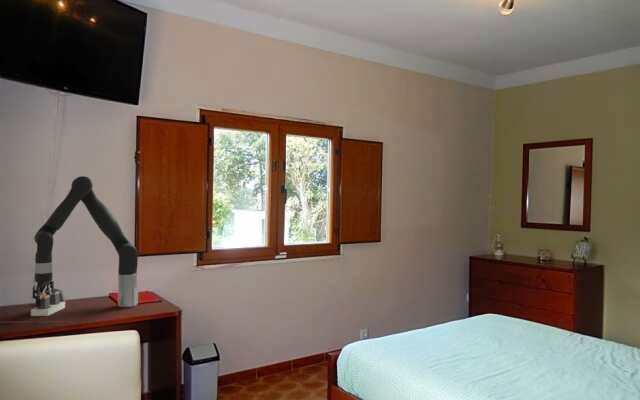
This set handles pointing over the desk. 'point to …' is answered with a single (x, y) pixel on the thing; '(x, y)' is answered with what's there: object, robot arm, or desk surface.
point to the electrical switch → (60, 295)
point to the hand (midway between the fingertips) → (43, 304)
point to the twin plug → (55, 298)
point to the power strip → (47, 310)
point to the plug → (45, 302)
